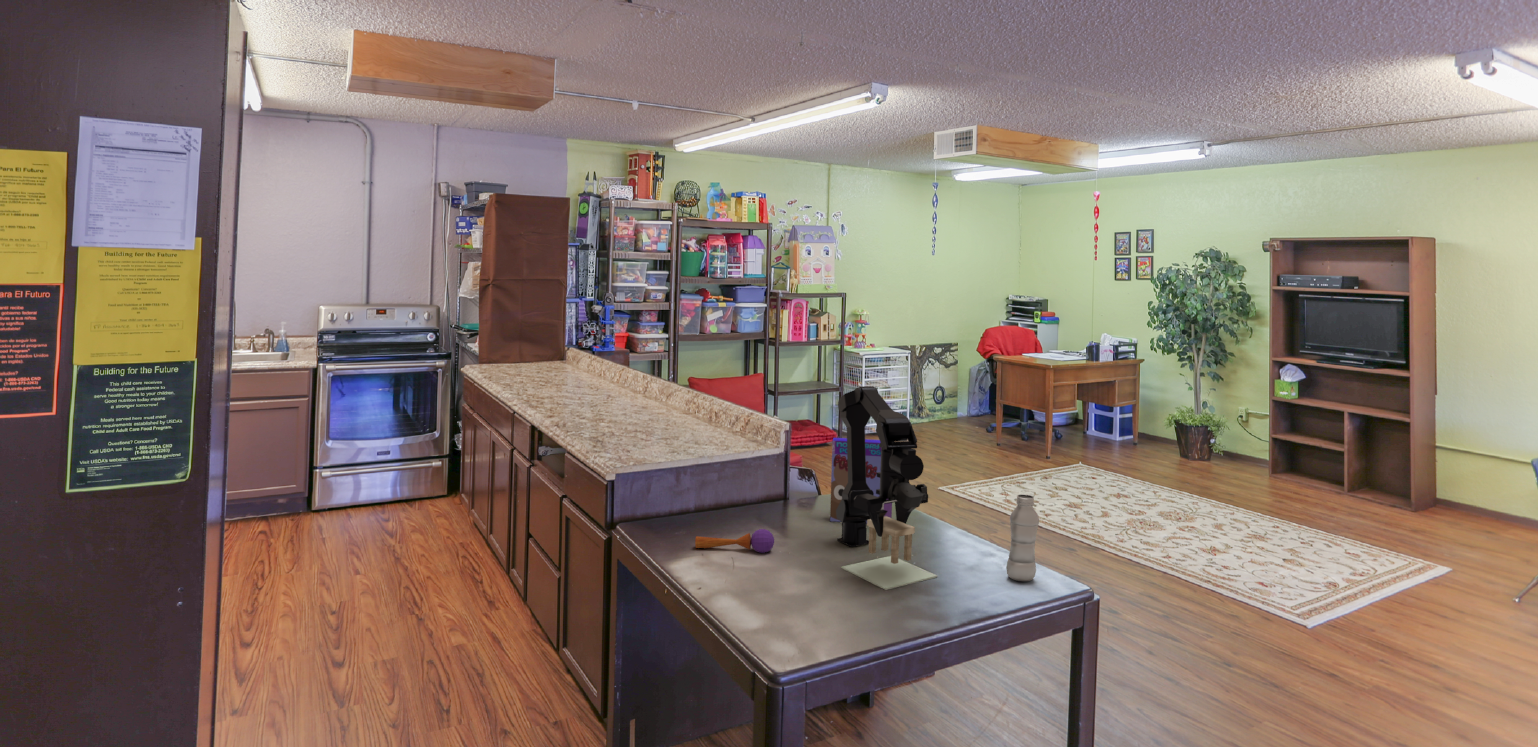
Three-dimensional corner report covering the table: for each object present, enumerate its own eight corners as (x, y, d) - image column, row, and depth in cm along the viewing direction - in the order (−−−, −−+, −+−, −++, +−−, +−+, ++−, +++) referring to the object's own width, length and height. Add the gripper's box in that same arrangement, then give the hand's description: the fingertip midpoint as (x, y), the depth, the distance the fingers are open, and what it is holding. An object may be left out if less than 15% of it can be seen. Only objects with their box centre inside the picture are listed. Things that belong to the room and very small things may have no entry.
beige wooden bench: (894, 564, 185) (895, 530, 184) (866, 551, 193) (867, 519, 192) (913, 560, 188) (914, 527, 187) (885, 547, 196) (886, 516, 195)
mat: (841, 568, 193) (841, 566, 193) (891, 557, 202) (891, 555, 202) (885, 589, 180) (885, 588, 180) (937, 577, 189) (937, 575, 188)
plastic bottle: (1001, 574, 191) (1005, 492, 189) (1029, 574, 192) (1033, 492, 189) (1011, 584, 185) (1016, 499, 182) (1040, 584, 185) (1045, 499, 183)
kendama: (698, 529, 209) (774, 527, 207) (699, 552, 208) (775, 550, 206) (693, 532, 203) (772, 529, 201) (694, 556, 202) (773, 554, 201)
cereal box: (830, 521, 231) (832, 439, 229) (831, 517, 236) (834, 436, 233) (891, 525, 228) (894, 443, 226) (891, 521, 233) (894, 439, 231)
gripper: (885, 481, 176) (882, 550, 178) (946, 472, 187) (943, 537, 188) (853, 471, 186) (851, 536, 187) (913, 463, 196) (910, 525, 198)
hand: (890, 534), depth 190 cm, fingers closed on beige wooden bench, 6 cm apart
